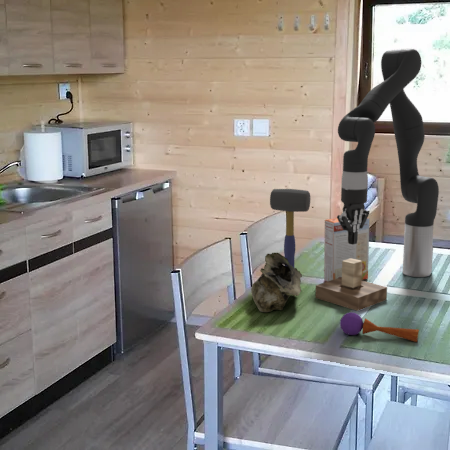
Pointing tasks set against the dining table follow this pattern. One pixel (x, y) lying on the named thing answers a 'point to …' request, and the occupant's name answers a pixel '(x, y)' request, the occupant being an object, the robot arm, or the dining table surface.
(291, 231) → the rubber mallet
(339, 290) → the seat board
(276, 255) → the hollow geode rock
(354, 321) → the kendama
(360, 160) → the robot arm
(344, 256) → the cracker box
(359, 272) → the beech leg
